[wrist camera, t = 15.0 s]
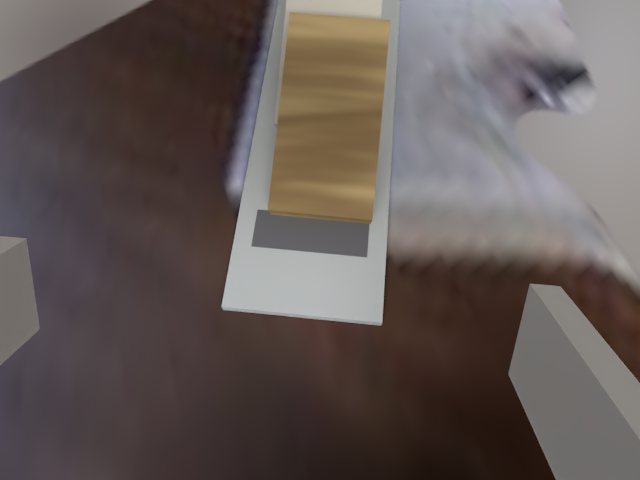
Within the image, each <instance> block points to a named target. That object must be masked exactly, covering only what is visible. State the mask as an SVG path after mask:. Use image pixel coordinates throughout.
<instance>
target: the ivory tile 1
mask: <svg viewBox="0 0 640 480" xmlns="http://www.w3.org/2000/svg"><path fill="white" fill-rule="evenodd" d="M382 1H383V0H286V10H285V20H284V30H283V40H282V50H281V60H280V69H279V79H278V89H277V99H276V109H275V119H274V124H275V127H276V129H277V123H278V114H279V105H280V96H281V87H282V78H283V69H284V60H285V52H286V43H287V34H288V25H289V16H290V12H293V13H306V14H319V15H332V16H345V17H358V18H371V19H381V12H382Z"/></svg>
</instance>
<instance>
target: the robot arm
mask: <svg viewBox="0 0 640 480" xmlns="http://www.w3.org/2000/svg"><path fill="white" fill-rule="evenodd" d="M39 329H40V327H39V321H38V314H37V307H36V300H35V293H34V286H33V280H32V273H31V266H30V259H29V252H28V246H27V239H26V238H15V237H4V236H0V365H1V364H2V363H4V362H5V361H6V360H7V359H8V358H9V357H10V356H11V355H12V354H13V353H14V352H15V351H17V350H18V349H19V348H20V347H21V346H22V345H23V344H24V343H25V342H26V341H27V340H29V339H30V338H31V337H32V336H33V335H34V334H35V333H36V332H37V331H38V330H39ZM508 375H509V377H510V379H511V381H512V384H513V386H514V388H515V390H516V393H517V395H518V397H519V399H520V401H521V404H522V406H523V408H524V410H525V413H526V415H527V417H528V419H529V421H530V424H531V426H532V428H533V430H534V433H535V435H536V437H537V439H538V441H539V444H540V446H541V448H542V450H543V453H544V455H545V457H546V459H547V461H548V464H549V466H550V468H551V470H552V472H553V475H554V477H555V479H556V480H640V383H639V382H638V380H637V379H636V378H635V377H634V375H633V374H632V373H631V372H630V371H629V369H628V368H627V367H626V366H625V365H624V363H623V362H622V361H621V360H620V358H619V357H618V356H617V355H616V354H615V352H614V351H613V350H612V349H611V347H610V346H609V345H608V344H607V343H606V341H605V340H604V339H603V338H602V336H601V335H600V334H599V333H598V332H597V330H596V329H595V328H594V327H593V325H592V324H591V323H590V322H589V321H588V319H587V318H586V317H585V316H584V315H583V313H582V312H581V311H580V310H579V308H578V307H577V306H576V305H575V304H574V302H573V301H572V300H571V299H570V297H569V296H568V295H567V294H566V293H565V291H564V290H563V289H562V288H561V286H552V285H540V284H530V285H529V289H528V293H527V298H526V302H525V306H524V310H523V314H522V319H521V323H520V327H519V331H518V335H517V340H516V344H515V348H514V352H513V356H512V360H511V365H510V369H509V373H508Z"/></svg>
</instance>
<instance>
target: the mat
mask: <svg viewBox="0 0 640 480" xmlns="http://www.w3.org/2000/svg"><path fill="white" fill-rule="evenodd" d="M285 10H286V0H278V5H277V10H276V16H275V21H274V26H273V32H272V37H271V43H270V48H269V53H268V59H267V64H266V69H265V75H264V80H263V86H262V91H261V96H260V102H259V107H258V113H257V118H256V123H255V129H254V134H253V139H252V145H251V150H250V156H249V161H248V166H247V172H246V177H245V183H244V188H243V193H242V199H241V204H240V210H239V215H238V220H237V226H236V231H235V236H234V242H233V247H232V253H231V258H230V263H229V269H228V274H227V280H226V285H225V290H224V296H223V301H222V308H223V310H230V311H240V312H250V313H260V314H270V315H280V316H290V317H300V318H310V319H320V320H330V321H340V322H350V323H360V324H370V325H380V326H381V325H382V320H383V302H384V285H385V267H386V249H387V231H388V213H389V196H390V178H391V160H392V142H393V125H394V107H395V89H396V71H397V54H398V36H399V18H400V0H383V1H382V12H381V19H383V20H391V21H390V32H389V43H388V54H387V65H386V76H385V87H384V98H383V109H382V120H381V131H380V142H379V153H378V164H377V175H376V186H375V197H374V208H373V219H372V222H371V224H365V223H355V222H344V221H334V220H323V219H313V218H302V217H291V216H281V215H271V214H270V213H269V211H268V202H269V193H270V185H271V176H272V167H273V158H274V149H275V140H276V131H277V129H276V127H275V124H274V119H275V109H276V99H277V89H278V79H279V69H280V60H281V50H282V40H283V30H284V20H285Z"/></svg>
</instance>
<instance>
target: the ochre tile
mask: <svg viewBox="0 0 640 480" xmlns="http://www.w3.org/2000/svg"><path fill="white" fill-rule="evenodd" d="M390 21H391V20H383V19H371V18H358V17H345V16H332V15H319V14H306V13H293V12H290V16H289V25H288V34H287V43H286V52H285V60H284V69H283V78H282V87H281V96H280V105H279V114H278V123H277V131H276V140H275V149H274V158H273V167H272V176H271V185H270V193H269V202H268V211H269V213H270V214H271V215H281V216H291V217H302V218H313V219H323V220H334V221H344V222H355V223H365V224H371V222H372V219H373V208H374V197H375V186H376V175H377V164H378V153H379V142H380V131H381V120H382V109H383V98H384V87H385V76H386V65H387V54H388V43H389V32H390Z"/></svg>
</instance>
